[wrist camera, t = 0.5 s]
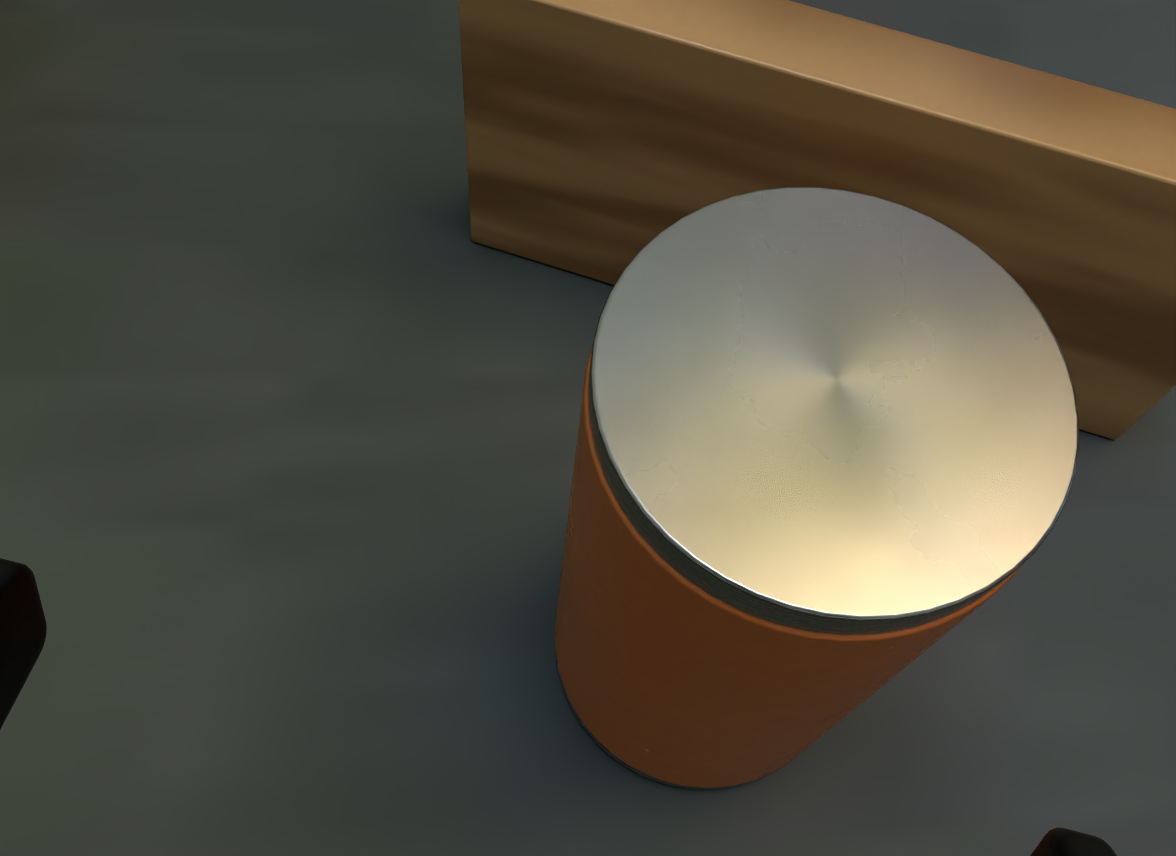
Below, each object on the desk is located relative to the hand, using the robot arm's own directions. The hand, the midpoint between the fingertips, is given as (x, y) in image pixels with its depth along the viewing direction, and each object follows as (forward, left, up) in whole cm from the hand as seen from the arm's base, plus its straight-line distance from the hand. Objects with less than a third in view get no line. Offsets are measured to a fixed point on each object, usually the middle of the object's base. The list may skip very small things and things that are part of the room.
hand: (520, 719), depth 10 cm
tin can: (+6, -3, -15) cm, 17 cm away
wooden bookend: (+19, -6, -15) cm, 25 cm away
